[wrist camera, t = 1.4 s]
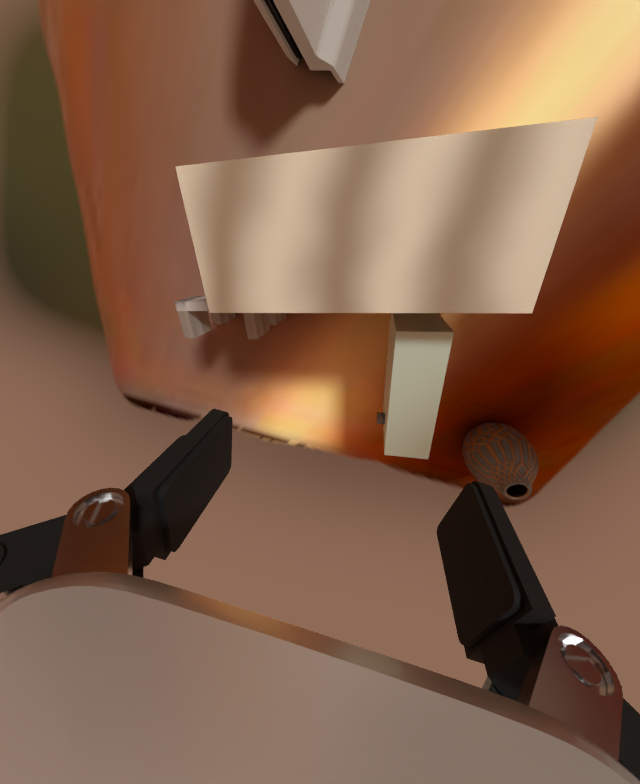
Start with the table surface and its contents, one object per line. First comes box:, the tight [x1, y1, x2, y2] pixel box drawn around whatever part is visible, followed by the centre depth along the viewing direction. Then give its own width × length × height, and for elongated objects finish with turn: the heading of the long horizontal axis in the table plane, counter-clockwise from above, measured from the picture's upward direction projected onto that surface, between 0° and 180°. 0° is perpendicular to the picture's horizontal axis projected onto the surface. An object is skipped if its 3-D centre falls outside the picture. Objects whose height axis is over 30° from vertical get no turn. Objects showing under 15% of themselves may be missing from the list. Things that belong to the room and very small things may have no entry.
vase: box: [462, 422, 538, 500], centre depth 30 cm, size 7×7×9 cm
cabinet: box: [175, 117, 597, 340], centre depth 22 cm, size 26×11×13 cm, turn 92°
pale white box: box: [377, 313, 454, 459], centre depth 27 cm, size 5×12×10 cm, turn 2°
